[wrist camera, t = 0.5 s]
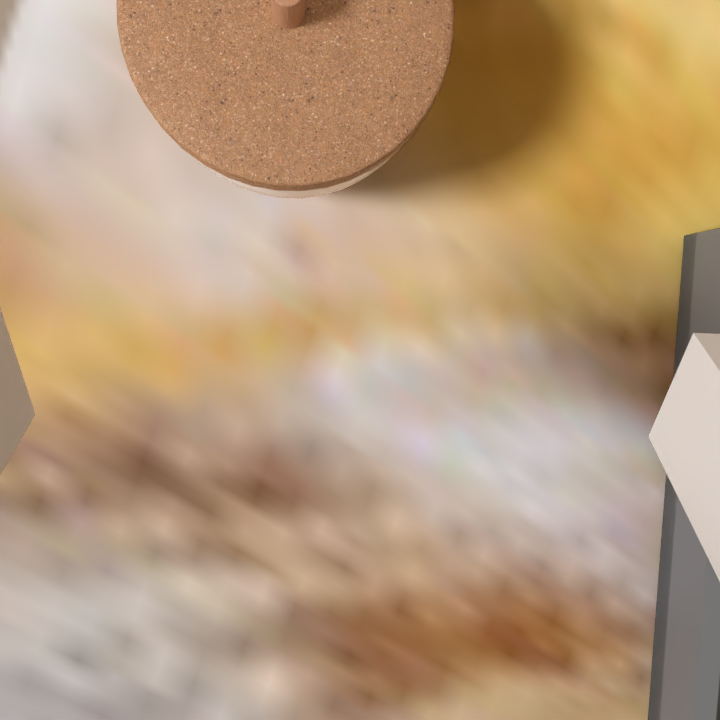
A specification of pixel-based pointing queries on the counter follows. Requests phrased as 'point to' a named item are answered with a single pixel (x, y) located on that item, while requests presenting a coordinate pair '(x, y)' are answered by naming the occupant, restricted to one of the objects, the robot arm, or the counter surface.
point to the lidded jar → (288, 83)
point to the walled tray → (688, 538)
